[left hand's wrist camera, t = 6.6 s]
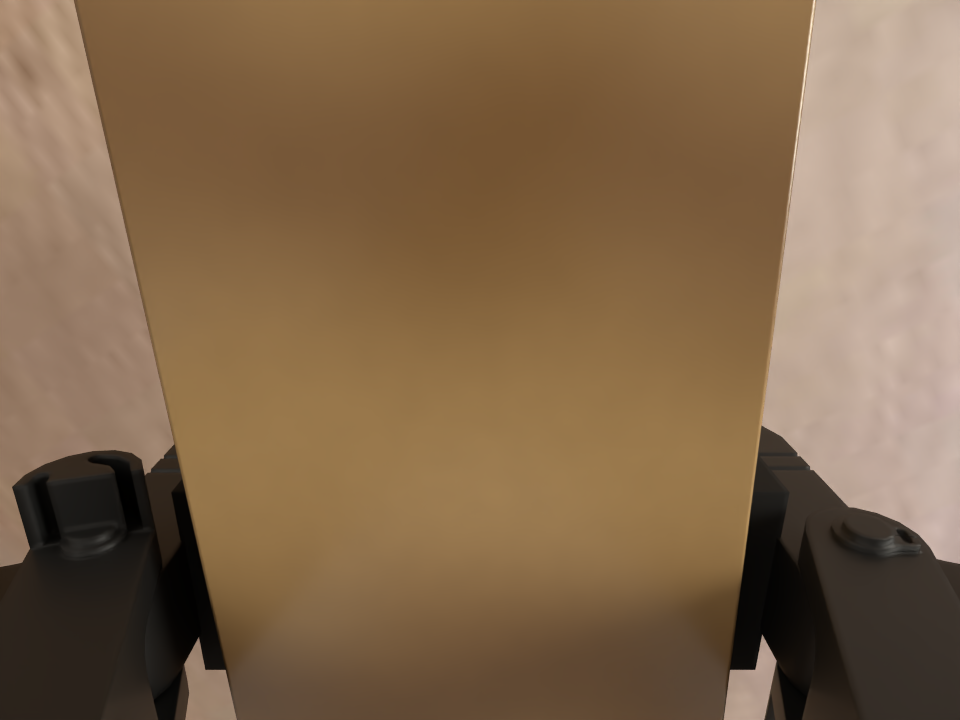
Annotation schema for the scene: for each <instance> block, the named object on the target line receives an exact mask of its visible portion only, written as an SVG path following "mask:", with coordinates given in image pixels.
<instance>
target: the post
mask: <svg viewBox="0 0 960 720" xmlns="http://www.w3.org/2000/svg"><path fill="white" fill-rule="evenodd" d="M74 3H75V7H76V11H77V16H78V20H79V25H80V29H81V34H82V38H83V42H84V47H85V51H86V56H87V60H88V64H89V69H90V73H91V78H92V82H93V86H94V91H95V95H96V100H97V104H98V109H99V113H100V117H101V122H102V126H103V131H104V135H105V139H106V144H107V148H108V153H109V157H110V161H111V166H112V170H113V175H114V179H115V184H116V188H117V192H118V197H119V201H120V206H121V210H122V214H123V219H124V223H125V228H126V232H127V236H128V241H129V245H130V250H131V254H132V259H133V263H134V267H135V272H136V276H137V281H138V285H139V289H140V294H141V298H142V303H143V307H144V311H145V316H146V320H147V325H148V329H149V334H150V338H151V342H152V347H153V351H154V356H155V360H156V364H157V369H158V373H159V378H160V382H161V386H162V391H163V395H164V400H165V404H166V409H167V413H168V417H169V422H170V426H171V431H172V435H173V439H174V444H175V448H176V453H177V457H178V461H179V466H180V470H181V475H182V479H183V484H184V488H185V492H186V497H187V501H188V506H189V510H190V514H191V519H192V523H193V528H194V532H195V537H196V541H197V545H198V550H199V554H200V559H201V563H202V567H203V572H204V576H205V581H206V585H207V589H208V594H209V598H210V603H211V607H212V612H213V616H214V620H215V625H216V629H217V634H218V638H219V642H220V647H221V651H222V656H223V660H224V664H225V669H226V673H227V678H228V682H229V687H230V691H231V695H232V700H233V704H234V709H235V713H236V717H237V720H724V712H725V704H726V696H727V689H728V681H729V673H730V665H731V658H732V650H733V642H734V634H735V627H736V619H737V611H738V603H739V596H740V588H741V580H742V572H743V565H744V557H745V549H746V541H747V534H748V526H749V518H750V510H751V503H752V495H753V487H754V479H755V472H756V464H757V456H758V448H759V441H760V433H761V425H762V417H763V409H764V402H765V394H766V386H767V378H768V371H769V363H770V355H771V347H772V340H773V332H774V324H775V316H776V309H777V301H778V293H779V285H780V278H781V270H782V262H783V254H784V247H785V239H786V231H787V223H788V216H789V208H790V200H791V192H792V185H793V177H794V169H795V161H796V154H797V146H798V138H799V130H800V123H801V115H802V107H803V99H804V91H805V84H806V76H807V68H808V60H809V53H810V45H811V37H812V29H813V22H814V14H815V6H816V0H74Z"/></svg>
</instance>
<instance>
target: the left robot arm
mask: <svg viewBox="0 0 960 720" xmlns="http://www.w3.org/2000/svg"><path fill="white" fill-rule="evenodd" d="M12 488H13V491H14V495H15V498H16V502H17V505H18V508H19V512H20V515H21V519H22V522H23V526H24V529H25V532H26V536H27V539H28V543H29V546H30V550H29V552H28V553H27V555H26V557H25V559H24V561H23V562H22V563H19V564H14V565H9V566H4V567H0V720H185V717H186V710H187V703H188V696H189V689H188V682H187V676H186V672H185V667H184V663H185V661H186V660H187V658H188V656H189V654H190V652H191V650H192V649H193V647H194V645H195V643H196V641H197V639H198V637H199V639H200V644H201V649H202V654H203V660H204V665H205V670H226V669H225V664H224V660H223V656H222V651H221V647H220V642H219V638H218V634H217V629H216V625H215V620H214V616H213V612H212V607H211V603H210V598H209V594H208V589H207V585H206V581H205V576H204V572H203V567H202V563H201V559H200V554H199V550H198V545H197V541H196V537H195V532H194V528H193V523H192V519H191V514H190V510H189V506H188V501H187V497H186V492H185V488H184V484H183V479H182V475H181V470H180V466H179V461H178V457H177V453H176V448H175V444H174V445H173V446H172V448H171V449H170V450H169V451H168V452H167V453H166V454H165V455H164V459H160V460H159V461H158V462H157V464H156V465H155V466H154V467H153V468H152V469H151V473H147V474H146V475H145V474H144V470H143V465H142V460H141V459H140V458H138V457H137V456H135V455H134V454H132V453H128V452H122V451H116V450H110V451H92V452H87V453H82V454H77V455H72V456H68V457H65V458H62V459H59V460H56V461H53V462H50V463H47V464H45V465H43V466H41V467H39V468H37V469H35V470H33V471H32V472H30V473H28V474H26V475H25V476H23V477H22V478H21V479H20V480H19V481H18V482H17V483H16V484H15V485H14V486H13V487H12ZM762 635H763V636H764V638H765V640H766V642H767V644H768V646H769V647H770V649H771V651H772V653H773V655H774V657H775V658H776V660H777V662H776V667H775V671H774V676H773V681H772V686H771V691H770V696H769V700H768V705H767V710H766V715H765V720H960V564H957V563H952V562H946V561H942V560H938V559H936V558H935V556H934V554H933V552H932V550H931V549H930V547H929V546H928V545H927V544H926V543H925V542H924V541H923V539H922V538H921V537H920V536H919V535H918V534H917V533H915V532H913V531H912V530H910V529H909V528H907V527H906V526H904V525H903V524H901V523H899V522H897V521H895V520H892V519H890V518H887V517H885V516H882V515H880V514H878V513H874V512H870V511H865V510H861V509H857V508H849V507H848V506H847V505H846V504H845V503H844V502H843V501H842V500H841V499H840V498H839V497H838V496H837V495H836V494H835V493H834V492H833V490H832V489H831V488H830V487H829V486H828V485H827V484H826V483H825V482H824V481H823V480H822V479H821V478H820V477H819V476H818V475H817V474H816V473H815V471H814V470H810V466H809V465H808V464H807V463H806V462H805V461H804V460H803V459H802V458H801V457H800V456H797V452H796V451H795V450H794V449H793V448H792V447H791V446H790V445H789V444H788V443H787V442H786V441H785V440H784V439H783V438H782V437H781V436H779V435H777V434H776V433H774V432H772V431H770V430H768V429H767V428H765V427H763V426H761V433H760V441H759V448H758V456H757V464H756V472H755V479H754V487H753V495H752V503H751V510H750V518H749V526H748V534H747V541H746V549H745V557H744V565H743V572H742V580H741V588H740V596H739V603H738V611H737V619H736V627H735V634H734V642H733V650H732V658H731V665H730V670H755V668H756V663H757V658H758V653H759V648H760V642H761V637H762Z"/></svg>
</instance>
